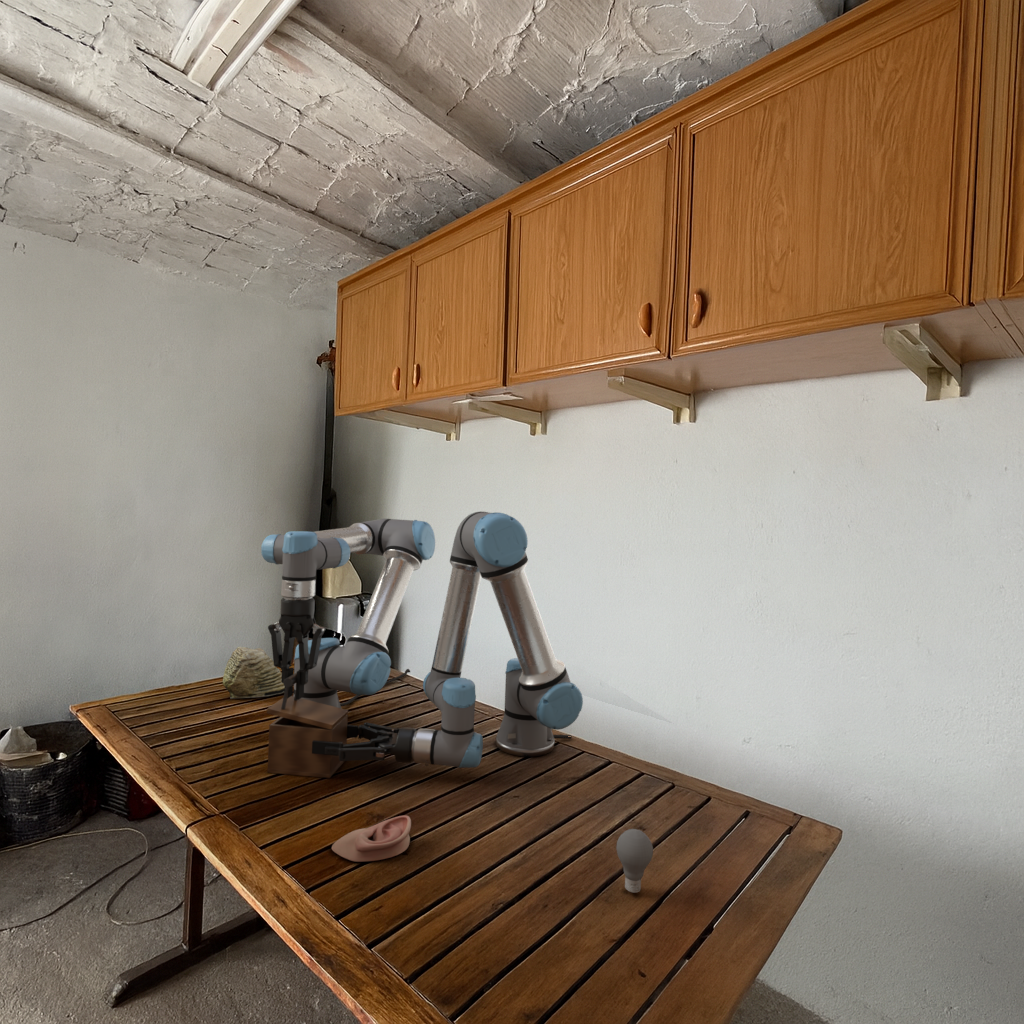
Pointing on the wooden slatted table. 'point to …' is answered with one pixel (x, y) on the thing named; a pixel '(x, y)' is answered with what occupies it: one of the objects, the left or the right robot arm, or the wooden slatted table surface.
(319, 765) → the chest
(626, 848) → the light bulb
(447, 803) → the wooden slatted table surface
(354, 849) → the anatomical model
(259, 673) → the fossil
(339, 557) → the left robot arm
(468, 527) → the right robot arm
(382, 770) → the wooden slatted table surface
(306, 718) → the lid
